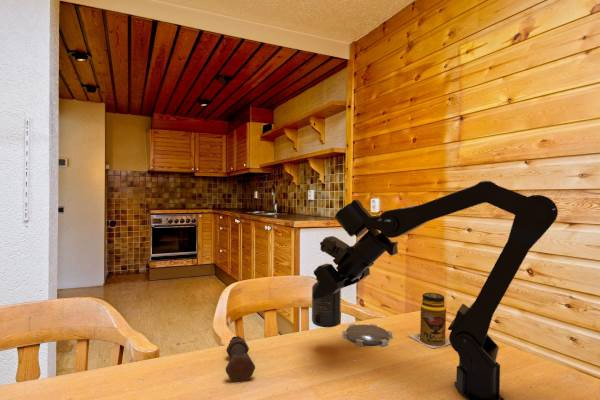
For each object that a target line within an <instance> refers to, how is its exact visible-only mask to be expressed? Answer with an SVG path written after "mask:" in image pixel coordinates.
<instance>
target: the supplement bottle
mask: <svg viewBox="0 0 600 400" xmlns="http://www.w3.org/2000/svg"><path fill="white" fill-rule="evenodd" d="M315 281H316V282H315V283H313V285H312V287H311V322H312V324H313V325H315V326H317V327H320V328H334V327H337V326H339V325H340V324H341V316H342V315H341V313H342V312H341V311H342V310H341V307H342V305H341V304H342V298H341V297H342V289H340V291H339V292H337V293H334V294H332V295H328V296H324V297H321V298H318V299H314V298H313V296H312V295H313V293H314V291H315V289H316V287H317V285H318V283H319V280H318V279H317V277H316V276H315Z"/></svg>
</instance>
